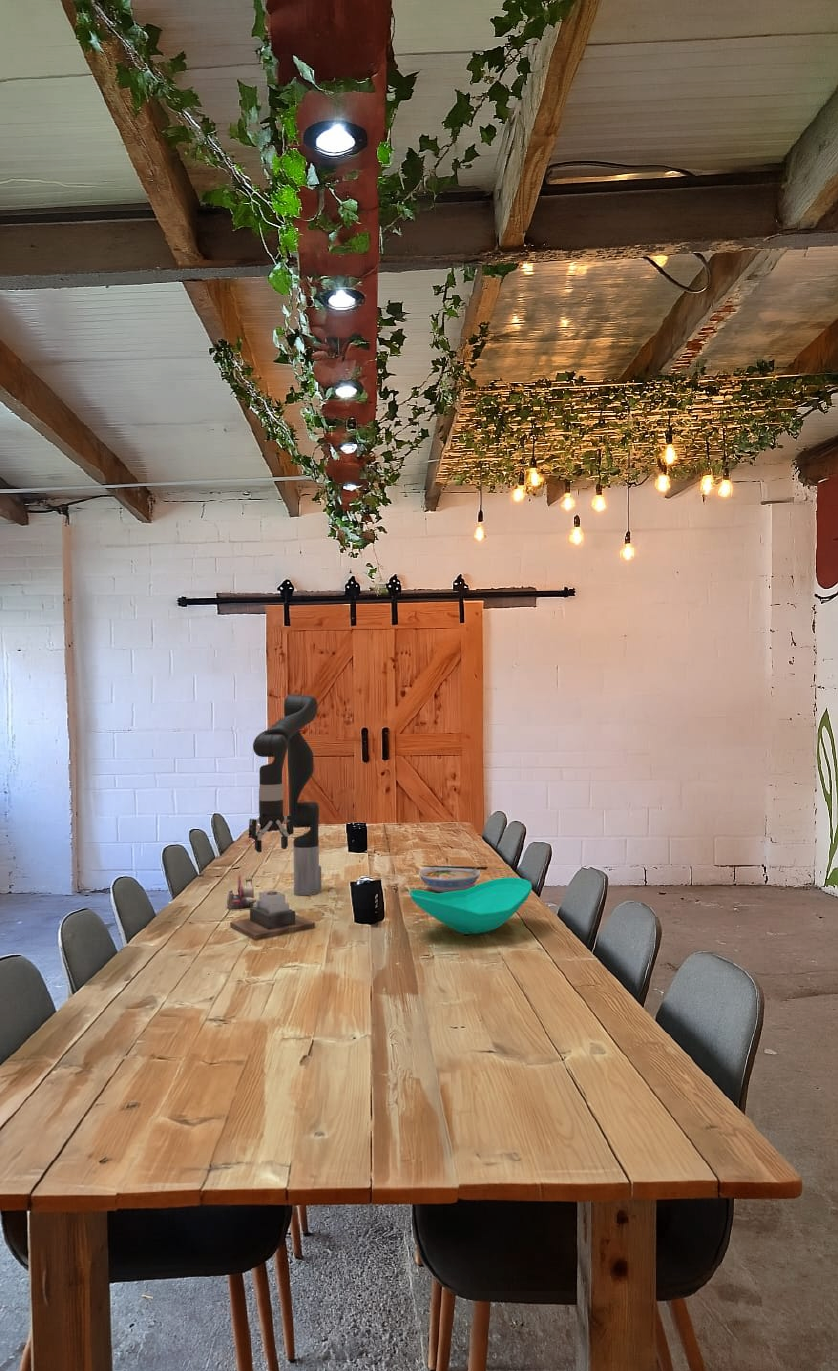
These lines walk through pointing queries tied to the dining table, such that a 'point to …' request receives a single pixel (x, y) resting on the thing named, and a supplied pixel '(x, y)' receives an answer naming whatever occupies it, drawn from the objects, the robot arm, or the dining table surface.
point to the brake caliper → (242, 896)
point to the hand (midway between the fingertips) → (271, 850)
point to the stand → (271, 924)
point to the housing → (272, 902)
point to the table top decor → (475, 904)
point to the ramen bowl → (450, 877)
